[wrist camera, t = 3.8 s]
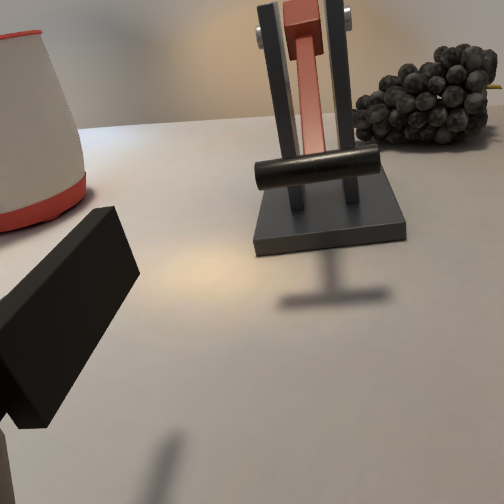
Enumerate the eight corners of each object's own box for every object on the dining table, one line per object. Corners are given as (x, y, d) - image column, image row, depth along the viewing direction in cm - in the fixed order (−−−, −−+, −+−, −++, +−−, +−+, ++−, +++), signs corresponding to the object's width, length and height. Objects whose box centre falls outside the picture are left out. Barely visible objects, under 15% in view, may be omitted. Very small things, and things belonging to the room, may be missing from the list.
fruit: (325, 58, 42) (505, 27, 34) (352, 70, 49) (507, 46, 41) (327, 150, 44) (498, 140, 36) (353, 149, 50) (500, 140, 43)
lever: (380, 185, 21) (381, 151, 19) (262, 202, 23) (251, 171, 21) (349, 23, 29) (347, -14, 27) (261, 41, 30) (253, 8, 28)
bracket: (406, 239, 28) (400, -27, 21) (256, 256, 30) (202, 18, 23) (380, 173, 38) (370, -20, 31) (269, 189, 40) (235, 11, 33)
